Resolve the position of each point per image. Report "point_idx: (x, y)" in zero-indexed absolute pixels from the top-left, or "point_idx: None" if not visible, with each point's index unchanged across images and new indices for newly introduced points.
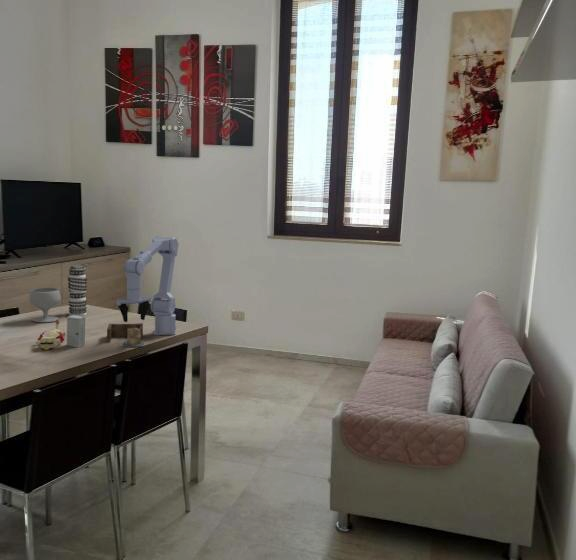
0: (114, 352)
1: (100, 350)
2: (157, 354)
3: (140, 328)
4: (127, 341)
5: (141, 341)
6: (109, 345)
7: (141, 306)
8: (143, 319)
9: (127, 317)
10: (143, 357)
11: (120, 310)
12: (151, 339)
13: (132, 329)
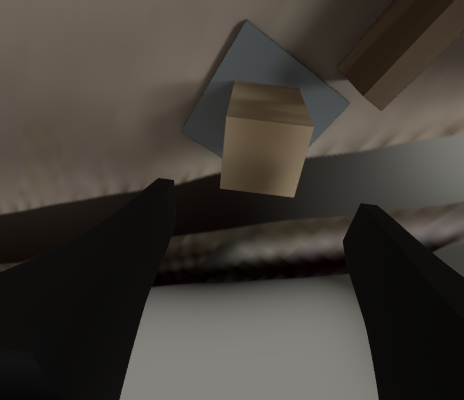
0: (111, 170)
1: (49, 96)
2: (248, 277)
3: (386, 84)
4: (234, 84)
5: (322, 110)
6: (124, 23)
7: (435, 362)
8: (347, 247)
9: (159, 265)
10: (188, 273)
11: (52, 257)
12: (436, 72)
13: (250, 157)
